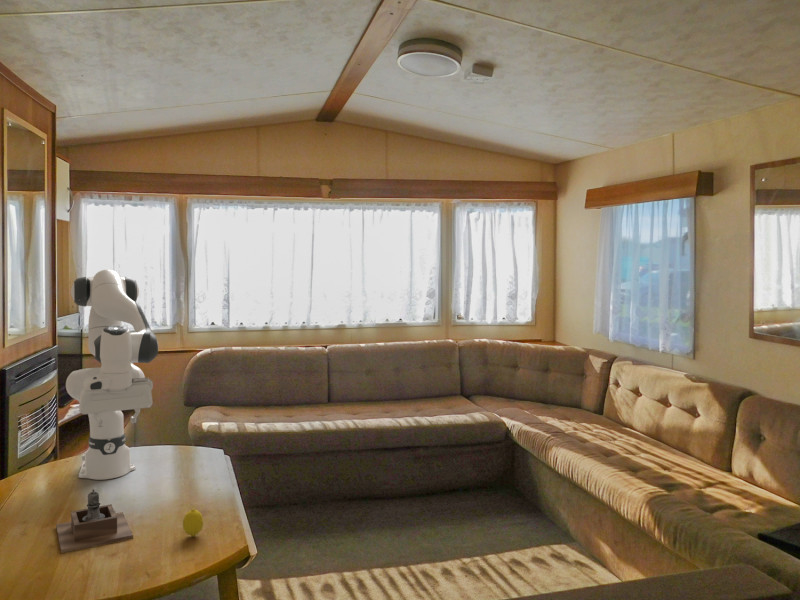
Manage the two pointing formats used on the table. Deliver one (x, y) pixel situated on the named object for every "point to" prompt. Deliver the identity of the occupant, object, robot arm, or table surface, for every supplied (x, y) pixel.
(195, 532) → the lemon
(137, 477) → the table surface
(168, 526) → the table surface
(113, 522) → the caddy
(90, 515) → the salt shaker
